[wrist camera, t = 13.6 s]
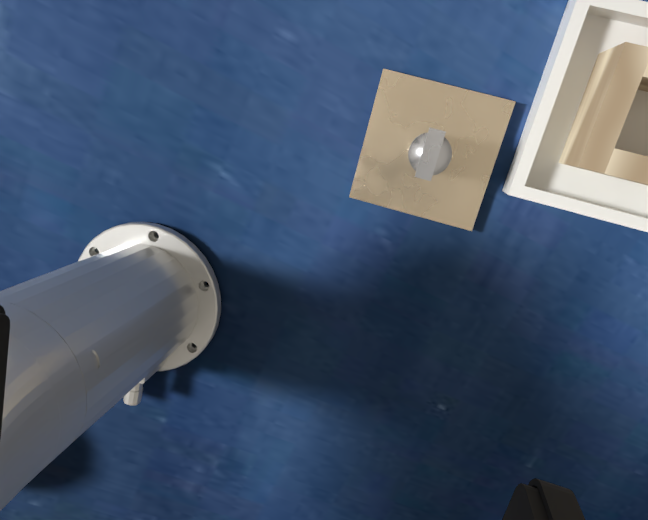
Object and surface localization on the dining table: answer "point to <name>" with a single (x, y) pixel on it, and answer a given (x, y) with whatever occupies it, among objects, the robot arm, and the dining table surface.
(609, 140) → the collar
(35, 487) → the dining table surface
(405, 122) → the square lid with knob
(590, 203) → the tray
